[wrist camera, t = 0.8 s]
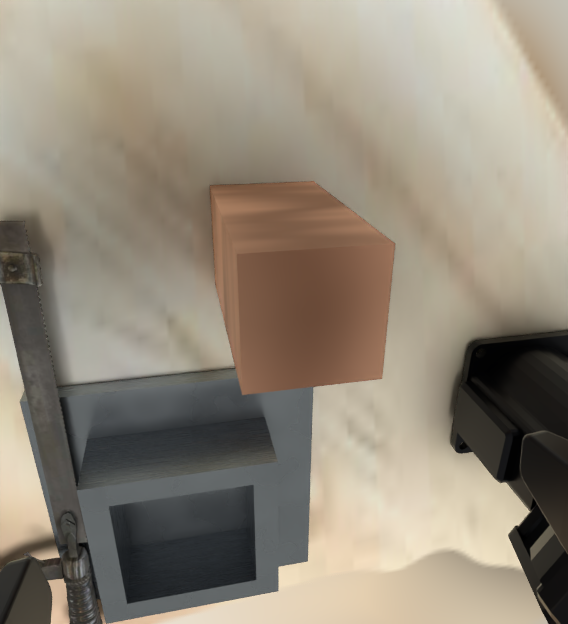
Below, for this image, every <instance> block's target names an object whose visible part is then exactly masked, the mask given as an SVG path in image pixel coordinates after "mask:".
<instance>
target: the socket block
mask: <svg viewBox="0 0 568 624" xmlns="http://www.w3.org/2000/svg"><path fill="white" fill-rule="evenodd" d="M56 388H57V389H58V391H57V393H58V394H59V396H58V397H59V398H60V400H59V402H60V403H61V404H60V406H61V407H62V409H61V411H62V412H63V413H62V416H63V420H64V425H65V427H64V428H65V429H66V431H65V432H66V434H67V435H66V437H67V438H68V439H67V441H68V446H69V448H68V449H69V450H70V452H69V453H70V454H71V456H70V457H71V459H72V460H71V462H72V463H73V464H72V466H73V470H74V475H75V476H74V478H75V479H76V480H75V482H76V483H77V484H76V486H77V494H78V499H79V503H80V508H81V512H82V517H83V518H82V519H83V523H84V527H85V531H86V533H85V534H86V535H87V536H86V537H87V541H88V542H84V543H79V546H81V547H84V548H85V549H86V550H87V552H88V556H89V563H90V566H91V569H92V575H91V576H92V581H93V586H94V591H95V596H96V599H101V603H102V608H103V612H104V617H105V621H106V624H107V623H113V622H118V621H123V620H128V619H134V618H139V617H144V616H150V615H155V614H160V613H165V612H171V611H176V610H181V609H186V608H192V607H197V606H202V605H208V604H213V603H218V602H223V601H229V600H234V599H239V598H244V597H250V596H255V595H260V594H265V593H271V592H276V591H278V567H279V566H284V565H290V564H296V563H301V562H307V561H308V535H309V502H310V470H311V438H312V405H313V387H307V388H298V389H290V390H281V391H273V392H264V393H256V394H247V395H242V392H241V388H240V384H239V380H238V376H237V372H236V368H234V369H224V370H215V371H206V372H196V373H187V374H177V375H168V376H159V377H149V378H140V379H130V380H121V381H112V382H102V383H93V384H83V385H74V386H65V387H56ZM20 404H21V408H22V412H23V416H24V420H25V424H26V428H27V432H28V435H29V439H30V443H31V447H32V451H33V455H34V459H35V463H36V467H37V470H38V474H39V478H40V482H41V486H42V490H43V494H44V498H45V501H46V505H47V509H48V513H49V517H50V521H51V525H52V529H53V533H54V536H55V540H56V544H57V548H58V552H59V556H60V558H61V557H62V555H63V554H64V553H65V552H66V551H67V550H68V545H67V544H60V542H59V538H58V533H57V529H56V524H55V520H54V516H53V511H52V507H51V502H50V498H49V494H48V489H47V485H46V480H45V476H44V471H43V467H42V463H41V458H40V454H39V449H38V445H37V441H36V436H35V432H34V427H33V423H32V419H31V414H30V410H29V405H28V401H27V396H26V392H25V391H24V393H23V396H22V398H21V400H20Z"/></svg>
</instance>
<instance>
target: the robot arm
mask: <svg viewBox="0 0 568 624" xmlns="http://www.w3.org/2000/svg"><path fill="white" fill-rule="evenodd" d="M479 349H481V351H480V352H479V353H477V351H478V350H479ZM476 353H477V354H476ZM453 427H454V428H453V433H452V439H451V445H452V447H453V448H454V450H455V451H456V452H457V453H468V452H474V454H475V455H476V456H477V457H478V459H479V460H480V461H481V462H482V463H483V465H484V466H485V467H486V468H487V470H488V471H489V472H490V473H491V475H492V476H493V477H494V478H495V479H496V480H497V481H498V482H499V483H503V482H506V483H507V484H508V485H509V486H510V488H511V489H512V490H513V491H514V492H515V494H516V495H517V496H518V497H519V498H520V500H521V501H522V502H523V503H524V505H525V506H526V507H527V508H528V509H529V511H530V513H529V514H528V515H527V516H526V517H525V519H524V520H523V521H522V522H521V524H520V525H519V526H515V527H514V528H513V530H512V531H511V532H510V533H509V534H508V537H509V539H510V541H511V543H512V545H513V548H514V550H515V552H516V554H517V557H518V559H519V561H520V563H521V566H522V568H523V570H524V572H525V574H526V576H527V579H528V581H529V583H530V586H531V588H532V590H533V592H534V595H535V596H536V599H537V601H538V603H539V606H540V608H541V610H542V612H543V614H544V616H545V617H546V620H547V621H548V624H568V331H560V332H551V333H541V334H532V335H523V336H513V337H504V338H494V339H485V340H477V341H474V342H473V343H471V344H470V345H469V347H468V349H467V353H466V359H465V365H464V370H463V376H462V382H461V385H460V387H459V392H458V397H457V403H456V409H455V415H454V421H453ZM462 442H463V443H462ZM461 443H462V444H461ZM51 610H52V592H51V588H50V585H49V583H48V581H47V579H46V577H45V575H44V573H43V571H42V569H41V567H40V565H39V563H38V561H37V560H36V559H35V558H34V557H26V558H22V559H18V560H14V561H11V562H9V563H7V564H6V565H5V566H4V567H3V568H2V569H1V570H0V624H50V623H51Z"/></svg>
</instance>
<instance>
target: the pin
mask: <svg viewBox="0 0 568 624" xmlns="http://www.w3.org/2000/svg"><path fill="white" fill-rule="evenodd" d="M210 199H211V216H212V234H213V251H214V268H215V285H216V289H217V293H218V297H219V301H220V306H221V310H222V314H223V318H224V322H225V326H226V330H227V334H228V339H229V343H230V347H231V351H232V355H233V359H234V363H235V368H236V372H237V376H238V380H239V384H240V388H241V392H242V395H247V394H256V393H264V392H273V391H281V390H290V389H298V388H307V387H316V386H324V385H333V384H341V383H350V382H358V381H367V380H376V379H382V373H383V363H384V353H385V343H386V332H387V322H388V312H389V302H390V291H391V281H392V271H393V260H394V250H395V243H394V242H392V241H391V240H390V239H388V238H387V237H386V236H385V235H383V234H382V233H381V232H379V231H378V230H377V229H375V228H374V227H373V226H371V225H370V224H369V223H367V222H366V221H365V220H364V219H362V218H361V217H360V216H358V215H357V214H356V213H354V212H353V211H352V210H350V209H349V208H348V207H347V206H345V205H344V204H343V203H341V202H340V201H339V200H337V199H336V198H335V197H333V196H332V195H331V194H329V193H328V192H327V191H326V190H324V189H323V188H322V187H320V186H319V185H318V184H316V183H315V182H314V181H309V182H284V183H259V184H234V185H210Z"/></svg>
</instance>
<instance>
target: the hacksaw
mask: <svg viewBox="0 0 568 624" xmlns="http://www.w3.org/2000/svg"><path fill="white" fill-rule="evenodd" d="M26 231H27V230H25V221H0V284H1V286H2V291H3V295H4V299H5V304H6V308H7V313H8V317H9V321H10V326H11V330H12V335H13V339H14V343H15V348H16V352H17V357H18V361H19V366H20V370H21V374H22V379H23V383H24V388H25V392H26V396H27V401H28V405H29V410H30V414H31V419H32V423H33V427H34V432H35V436H36V441H37V445H38V449H39V454H40V458H41V463H42V467H43V471H44V476H45V480H46V485H47V489H48V494H49V498H50V502H51V507H52V511H53V516H54V520H55V524H56V529H57V533H58V538H59V542H60V544H67V545H68V550H67V551H66V552H65V553H64V554H63V555H62V557H61V558H53V559H47V560H39V559H36V558H35V559H36V560H37V561H38V563H39V565H40V567H41V569H42V571H43V573H44V575H45V577H46V579H47V580H54V579H63V578H64V582H65V583H66V588H67V601H68V606H69V618H70V624H102V620H101V617H100V612H99V607H98V605H97V599H96V596H95V591H94V586H93V581H92V576H91V575H92V569H91V566H90V563H89V556H88V552H87V550H86V549H85V548H84V547H81V546H79V543H84V542H88V541H87V537H86V536H87V535H86V534H85V533H86V531H85V527H84V523H83V519H82V518H83V517H82V512H81V508H80V503H79V499H78V494H77V486H76V484H77V483H76V482H75V480H76V479H75V478H74V476H75V475H74V470H73V466H72V464H73V463H72V462H71V460H72V459H71V457H70V456H71V454H70V453H69V452H70V450H69V449H68V448H69V446H68V441H67V439H68V438H67V437H66V435H67V434H66V432H65V431H66V429H65V428H64V427H65V425H64V420H63V416H62V413H63V412H62V411H61V409H62V407H61V406H60V404H61V403H60V402H59V400H60V398H59V397H58V396H59V394H58V393H57V391H58V389H57V388H56V387H57V384H56V379H55V375H54V374H53V373H54V370H53V365H52V360H51V355H50V350H49V349H48V348H49V347H50V346H49V345H48V340H47V339H46V338H47V337H48V336H47V335H46V330H45V325H44V319H43V314H42V309H41V308H40V307H41V304H40V303H39V302H40V298H39V297H38V296H39V293H38V291H37V290H38V288H37V287H40V286H41V285H42V283H43V282H42V278H41V272H40V270H41V268H40V265H39V261H40V260H39V257H38V255H37V254H34V253H30V247H29V246H28V244H29V242H28V241H27V238H28V236H27V235H26ZM24 555H26V556H28V557H32V556H31V555H30V554H29V553H28V552H27V553H25V554H24Z"/></svg>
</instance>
